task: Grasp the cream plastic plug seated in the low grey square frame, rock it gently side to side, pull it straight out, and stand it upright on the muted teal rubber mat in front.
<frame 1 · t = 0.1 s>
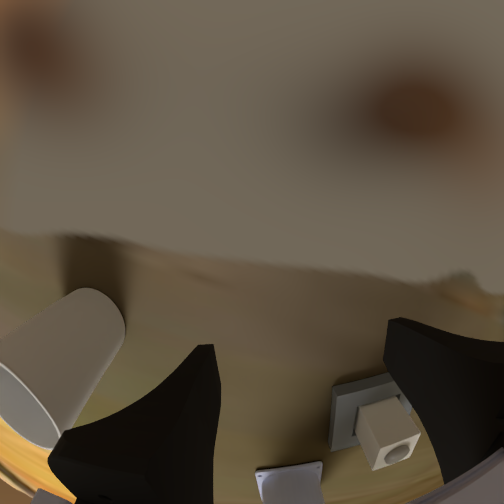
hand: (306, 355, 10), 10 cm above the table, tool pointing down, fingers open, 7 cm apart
mug: (93, 335, 21), on the table
plug: (370, 407, 24), resting in grey square frame
grey square frame: (371, 407, 24), on the table
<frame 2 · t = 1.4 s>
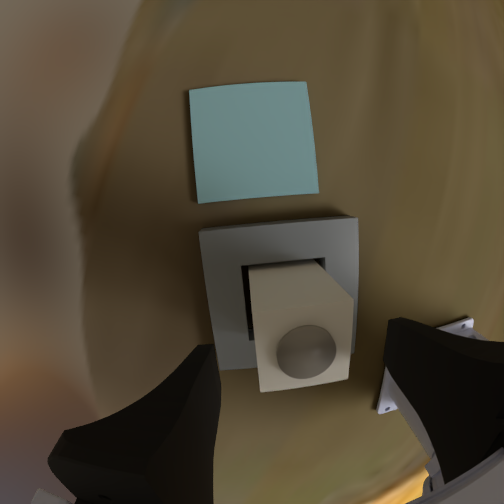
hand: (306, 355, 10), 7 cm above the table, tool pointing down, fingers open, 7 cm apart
mat: (253, 139, 16), on the table
plug: (282, 292, 18), resting in grey square frame
grey square frame: (282, 292, 18), on the table
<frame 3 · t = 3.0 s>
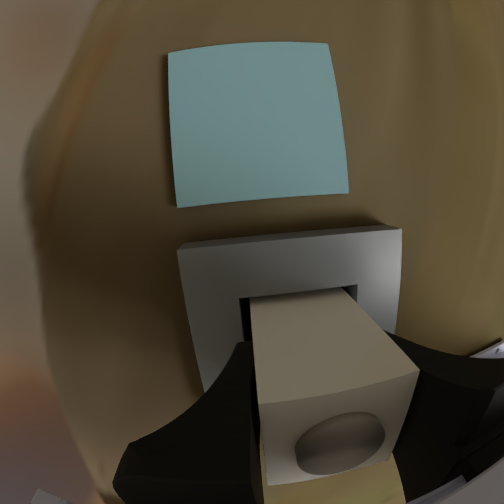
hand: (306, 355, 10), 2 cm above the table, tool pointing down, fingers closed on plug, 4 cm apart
mat: (256, 116, 11), on the table
plug: (295, 327, 13), resting in grey square frame, touching gripper
grey square frame: (295, 328, 13), on the table
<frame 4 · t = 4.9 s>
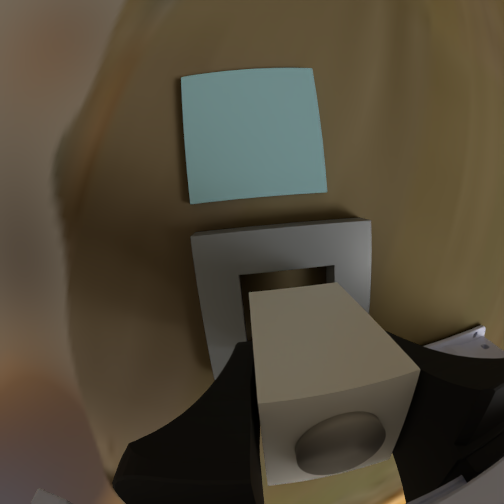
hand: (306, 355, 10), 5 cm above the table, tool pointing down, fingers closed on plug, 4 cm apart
mat: (252, 131, 14), on the table
plug: (295, 327, 13), point 3 cm above the table, touching gripper
grey square frame: (285, 303, 16), on the table
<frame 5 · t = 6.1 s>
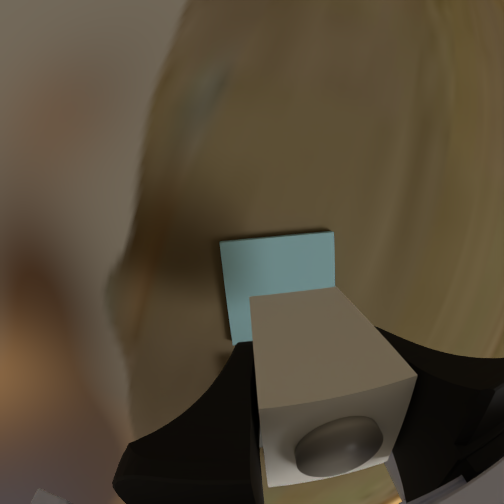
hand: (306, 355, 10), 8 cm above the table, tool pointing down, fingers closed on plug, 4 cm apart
mat: (280, 289, 18), on the table
plug: (295, 330, 13), point 5 cm above the table, touching gripper
when the fingers open (4 cm above the table, at t = 7.0 s): plug drops 1 cm, resting on mat.
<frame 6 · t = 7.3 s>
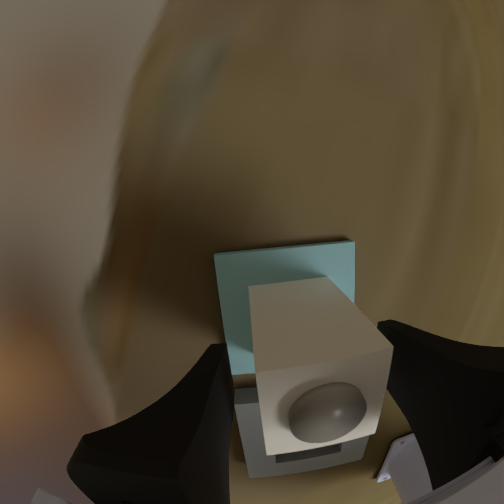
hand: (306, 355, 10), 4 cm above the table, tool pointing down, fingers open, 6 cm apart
mat: (289, 310, 15), on the table
plug: (291, 317, 14), resting on mat
grey square frame: (306, 425, 17), on the table
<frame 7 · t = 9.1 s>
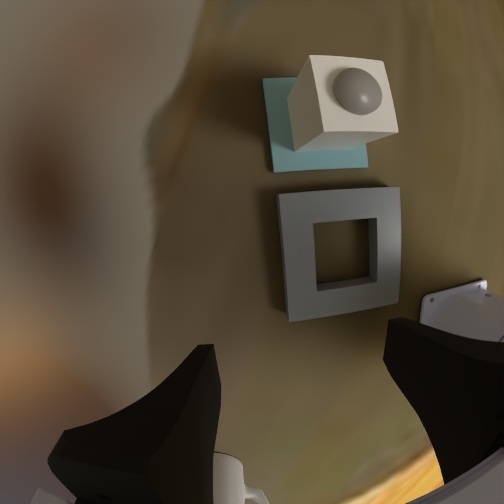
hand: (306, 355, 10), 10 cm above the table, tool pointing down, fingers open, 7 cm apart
mat: (316, 122, 18), on the table
mug: (229, 466, 26), on the table
plug: (318, 123, 18), resting on mat
grey square frame: (340, 250, 20), on the table
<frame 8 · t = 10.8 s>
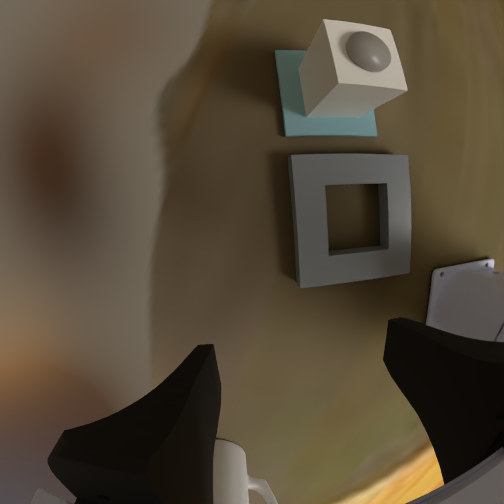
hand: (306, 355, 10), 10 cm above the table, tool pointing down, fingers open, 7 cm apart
mat: (326, 92, 18), on the table
mug: (231, 455, 25), on the table
plug: (328, 92, 17), resting on mat
grey square frame: (351, 216, 20), on the table
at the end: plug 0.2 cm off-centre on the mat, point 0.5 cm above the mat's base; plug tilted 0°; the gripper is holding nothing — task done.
